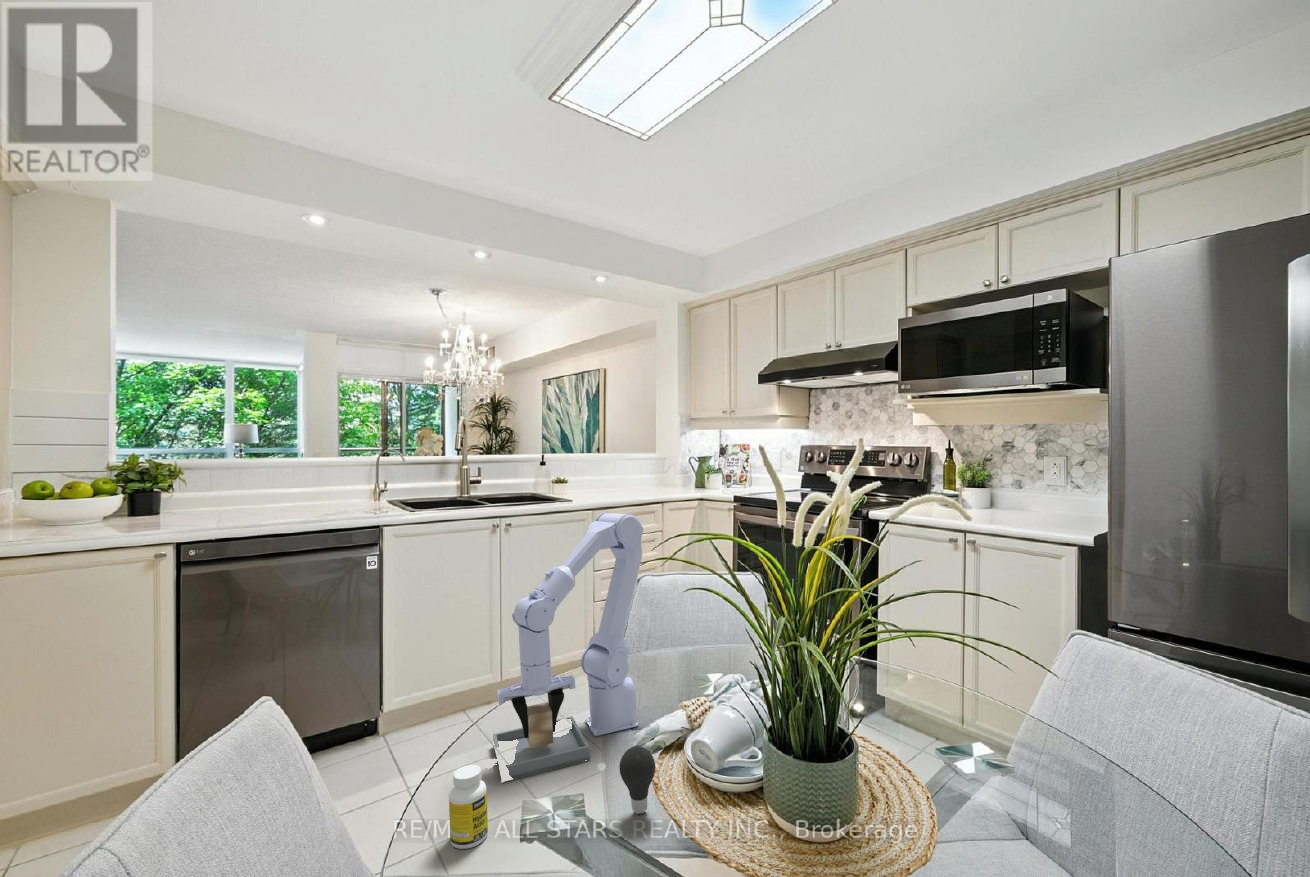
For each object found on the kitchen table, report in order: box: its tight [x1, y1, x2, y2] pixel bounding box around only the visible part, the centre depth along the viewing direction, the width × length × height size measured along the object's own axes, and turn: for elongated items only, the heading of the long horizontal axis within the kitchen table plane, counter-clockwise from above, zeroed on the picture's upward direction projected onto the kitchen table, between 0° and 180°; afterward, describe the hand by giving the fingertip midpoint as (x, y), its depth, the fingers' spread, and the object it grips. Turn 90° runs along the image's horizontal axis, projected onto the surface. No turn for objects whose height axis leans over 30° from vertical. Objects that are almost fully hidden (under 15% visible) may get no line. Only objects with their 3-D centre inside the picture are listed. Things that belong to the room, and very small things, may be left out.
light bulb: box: [618, 745, 656, 815], centre depth 89 cm, size 6×6×10 cm
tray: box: [492, 715, 591, 781], centre depth 109 cm, size 16×14×2 cm
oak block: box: [526, 701, 553, 749], centre depth 109 cm, size 4×4×6 cm
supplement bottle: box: [448, 764, 489, 850], centre depth 85 cm, size 5×5×10 cm
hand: (539, 732), depth 109 cm, fingers closed on oak block, 4 cm apart
